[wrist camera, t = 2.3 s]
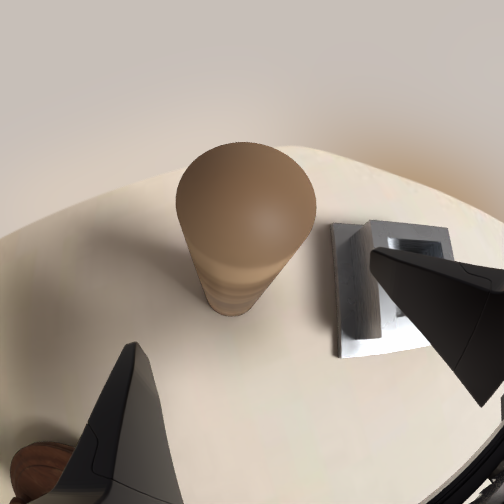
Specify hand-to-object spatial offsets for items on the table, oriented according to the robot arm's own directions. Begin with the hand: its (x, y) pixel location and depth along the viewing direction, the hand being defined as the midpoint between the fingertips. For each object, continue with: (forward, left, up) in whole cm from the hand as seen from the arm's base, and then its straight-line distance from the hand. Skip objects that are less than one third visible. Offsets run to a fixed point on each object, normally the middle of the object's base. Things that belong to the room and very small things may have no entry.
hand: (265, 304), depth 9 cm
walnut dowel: (+1, +2, -10) cm, 10 cm away
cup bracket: (+7, -9, -10) cm, 15 cm away
